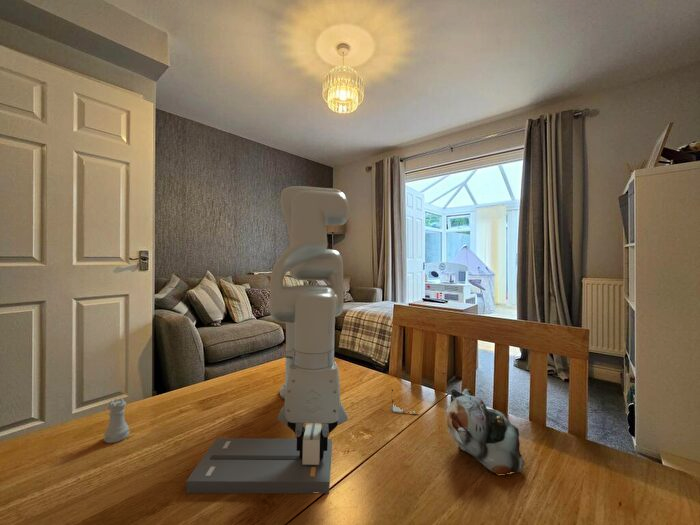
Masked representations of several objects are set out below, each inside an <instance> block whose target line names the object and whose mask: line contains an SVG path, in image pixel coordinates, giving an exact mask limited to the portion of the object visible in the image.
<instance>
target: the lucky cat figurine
mask: <svg viewBox="0 0 700 525" xmlns="http://www.w3.org/2000/svg"><path fill="white" fill-rule="evenodd" d="M450 392H451V395H450V402H449V406H448V407H447V409H446V411H445V415H446V426H447V428H448V432H449V434H450V435H451V436H452V437H453V439H454V441H455V442H456V443H458V446H459V447H460V450H463V451H464V452H466V453H467V454H469V456H470V455H471V456H472V457H473V458H474V459H476V460H477V461H478V462H480V463H481V465H482V466H484V467H485V468H486V469H488V470H489V471H490V472H491V473H493V472H494V473H497V474H507V473H510V472H515V473H521V472H522V471H523V469H524V468H523V467H524V462H525V461H524V457H523V455H522V454H521V452H520V445H521V444H520V439H519V438H520V433H519V432H520V431H519V428H518V427H517V426H516V425H514V424H512V423H511V422H510V421H509V419H507V417H506V416H505V414H504V413H503V412H502V411H499V410H498V409H497V410H496V409H493V408H487V406H486V404H485V402H484V400H483V399H482V398H480V397H478V396H474V395H473V394H472V391H471V390H470V389H469V388H464V389H463V391H461V392H459V391H457V390H456V389H452V390H451V391H450ZM494 473H493V474H494Z"/></svg>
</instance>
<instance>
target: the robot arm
mask: <svg viewBox="0 0 700 525" xmlns="http://www.w3.org/2000/svg"><path fill="white" fill-rule="evenodd" d="M280 207H281V213H282V215H283V218H284V221H285V225H286V227H287V229H288V230H287V232H288V237H289V240H288V242H289V243H288V244H289V247H288V248H287V249H285V250H284V251H283V252H282V254H280V256H279V257H278V258H277V259H276V262H275V263H274V265H273V267H272V270H271V273H270V274H271V275H270V281H269V301H268V303H269V304H268V308H269V314H270V317H271V318H272V320H273V321H275V322H277V323H284V324H285V370H284V371H285V375H284V377H285V378H284V379H285V383H284V384H283V385H281V386H280V388H279V395H280V397H281V398H282V399H284V404H283V406H282V408H281V410H280V412H279V413H278V415H277V420H278V421H279V422H280V423H283V424H284V425H287V427H288V428H289V429H290V430H291V431H293V433H294V436H295V437H296V439H297V451H300V458H303V437H304V433H305V428H306V427H305V426H304V424H321V425H322V426H321V434H320V459H323V455H324V451H327V449H328V439H329V436H330V433H331V432H333V431H334V429H336V428H337V426H339V425H342V424H343V423H345V422H347V421H348V413H347V412H346V409H345V407H344V406H343V404H342V401H341V382H340V374H339V373H340V372H339V366H338V363H337V362H336V361H335V329H336V328H335V326H336V324H335V323H336V322H335V321H336V320H335V319H336V317H339V316H340V315H341V314H342V313H343V310H344V302H345V301H344V294H345V292H344V262H343V257H342V255H341V253H340V252H339V251H338V250H336V249H331V248H328V246H329V244H328V235H327V234H328V233H327V226H343V225H345V224H346V223H347V221H348V220H349V219H348V218H349V216H350V215H349V214H350V206H349V200H348V198H347V196H346V195H345V193H344V192H342V191H341V190H340V189H337V188H331V187H327V188H326V187H318V186H317V187H315V186H306V185H305V186H304V185H295V186H294V185H293V186H288V187H286V188H283V190H282V191H281V194H280ZM288 272H289V275H290V276H291V278H292V279H294V280H296V281H298V280H299V281H319V282H320V281H323V282H326V283H327V284H328V285H326V284H325V285H324V284H323V285H322V284H296V285H291V286H287V285H286V286H284V278H285V276H286V274H287V273H288Z"/></svg>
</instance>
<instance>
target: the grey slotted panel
mask: <svg viewBox="0 0 700 525" xmlns="http://www.w3.org/2000/svg"><path fill="white" fill-rule="evenodd" d="M332 447H333V439H332V438H328V449H327V451H324V455H323V459H320V461H319V465H302V462H303V458H300V451H297V438H248V437H247V438H245V437H244V438H241V437H239V438H237V437H235V438H234V437H233V438H232V437H231V438H229V437H228V438H227V437H226V438H225V437H216V438H215V439H214V441H213V442H212V444H211V445H210V447H209V448H208V450H207V451H206V452H205V453H204V455H203V457H202V458H201V459H200V461H199V463H198V464H197V465H196V467H195V468H194V469H193V471H192V472H191V474H190V475H189V477H188V478H187V479H186V481H185V482H186V484H185V487H186V488H185V489H186V490H185V493H186V494H314V493H313V492H319V493H318V494H330V487H331V485H330V484H331V483H330V482H331V469H332V468H331V467H332V449H333V448H332Z"/></svg>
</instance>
